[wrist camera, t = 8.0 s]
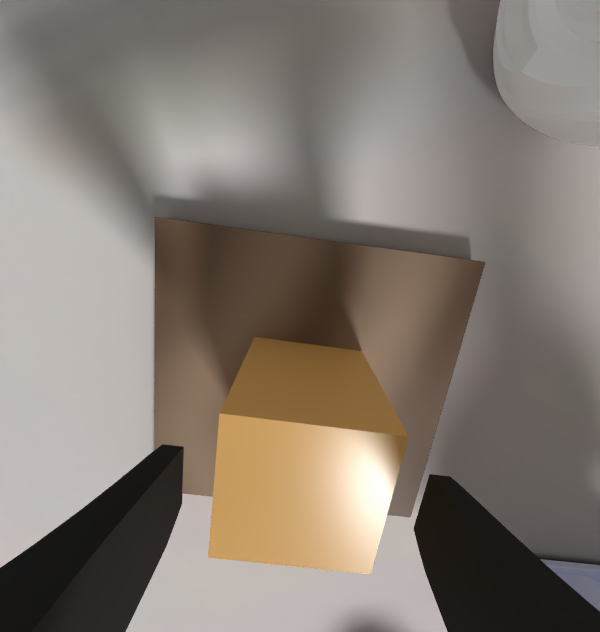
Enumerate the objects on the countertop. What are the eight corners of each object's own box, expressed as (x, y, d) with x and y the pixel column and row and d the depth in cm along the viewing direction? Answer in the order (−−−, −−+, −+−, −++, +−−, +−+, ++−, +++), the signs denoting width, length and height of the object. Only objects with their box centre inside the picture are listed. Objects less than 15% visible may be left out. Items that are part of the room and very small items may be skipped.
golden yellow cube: (361, 351, 13) (408, 436, 8) (342, 442, 15) (370, 574, 9) (254, 336, 13) (219, 413, 7) (244, 430, 15) (208, 557, 9)
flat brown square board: (472, 260, 13) (555, 271, 9) (404, 501, 17) (439, 592, 13) (166, 218, 13) (97, 208, 9) (162, 475, 16) (113, 560, 12)
